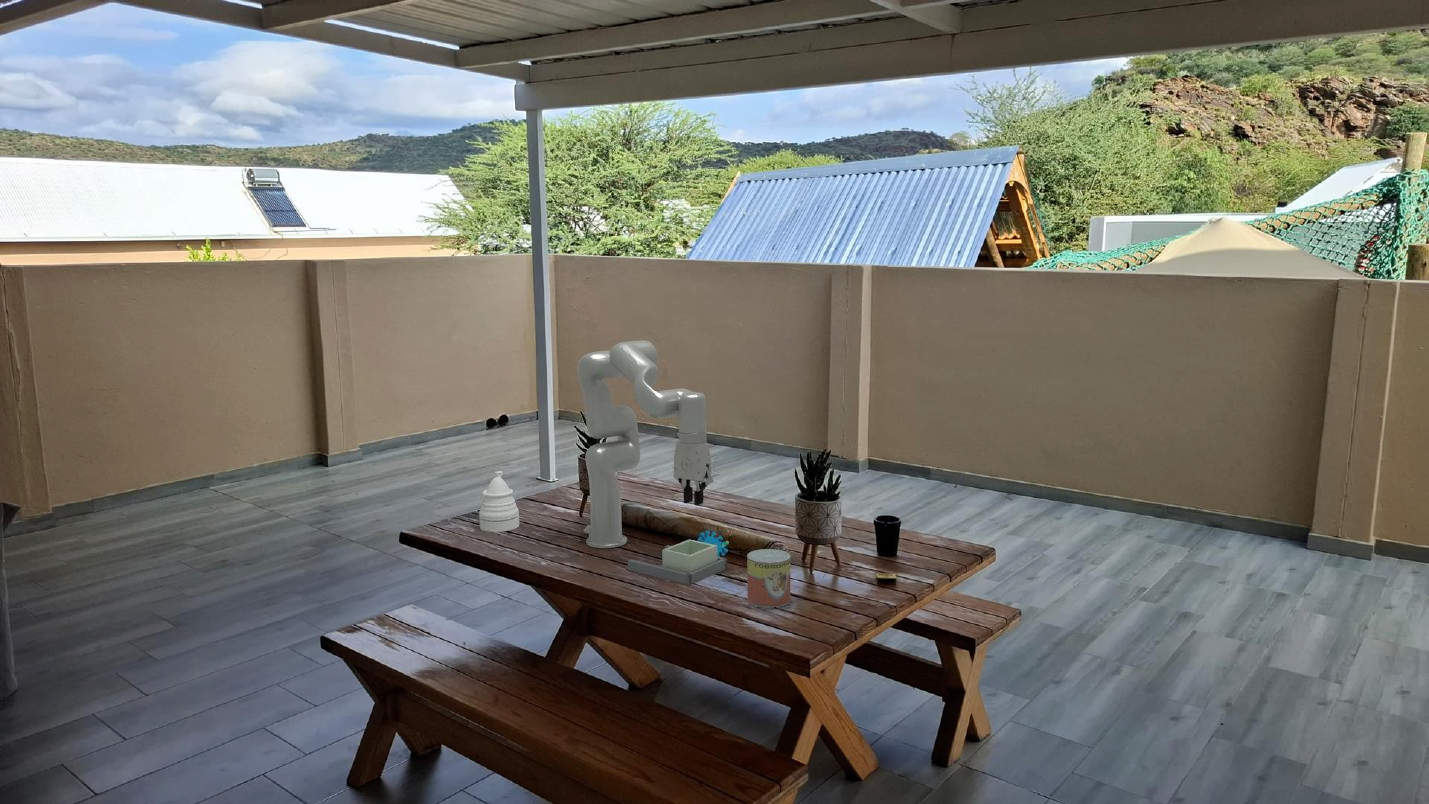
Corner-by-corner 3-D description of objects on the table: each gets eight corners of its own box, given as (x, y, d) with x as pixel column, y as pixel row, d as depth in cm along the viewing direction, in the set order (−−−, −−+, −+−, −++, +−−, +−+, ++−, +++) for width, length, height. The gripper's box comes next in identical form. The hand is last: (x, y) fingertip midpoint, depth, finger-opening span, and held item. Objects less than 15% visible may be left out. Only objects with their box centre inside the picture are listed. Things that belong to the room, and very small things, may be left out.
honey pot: (488, 520, 332) (485, 468, 329) (524, 521, 330) (522, 469, 327) (473, 531, 319) (471, 477, 317) (511, 532, 318) (509, 478, 315)
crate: (662, 574, 272) (662, 549, 271) (689, 562, 281) (689, 539, 280) (690, 581, 266) (690, 556, 265) (717, 569, 275) (717, 545, 274)
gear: (706, 559, 283) (694, 529, 288) (696, 569, 286) (685, 540, 292) (736, 557, 290) (724, 528, 295) (726, 567, 293) (714, 538, 298)
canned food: (758, 610, 247) (758, 564, 245) (740, 596, 257) (739, 552, 256) (798, 603, 252) (798, 558, 250) (778, 590, 262) (778, 546, 260)
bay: (628, 573, 276) (627, 560, 276) (667, 557, 290) (667, 545, 289) (689, 589, 263) (688, 575, 263) (727, 571, 277) (727, 558, 276)
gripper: (660, 436, 269) (662, 501, 272) (708, 443, 259) (708, 510, 262) (678, 432, 275) (679, 496, 278) (724, 438, 265) (725, 504, 268)
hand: (693, 502), depth 270 cm, fingers open, 3 cm apart
